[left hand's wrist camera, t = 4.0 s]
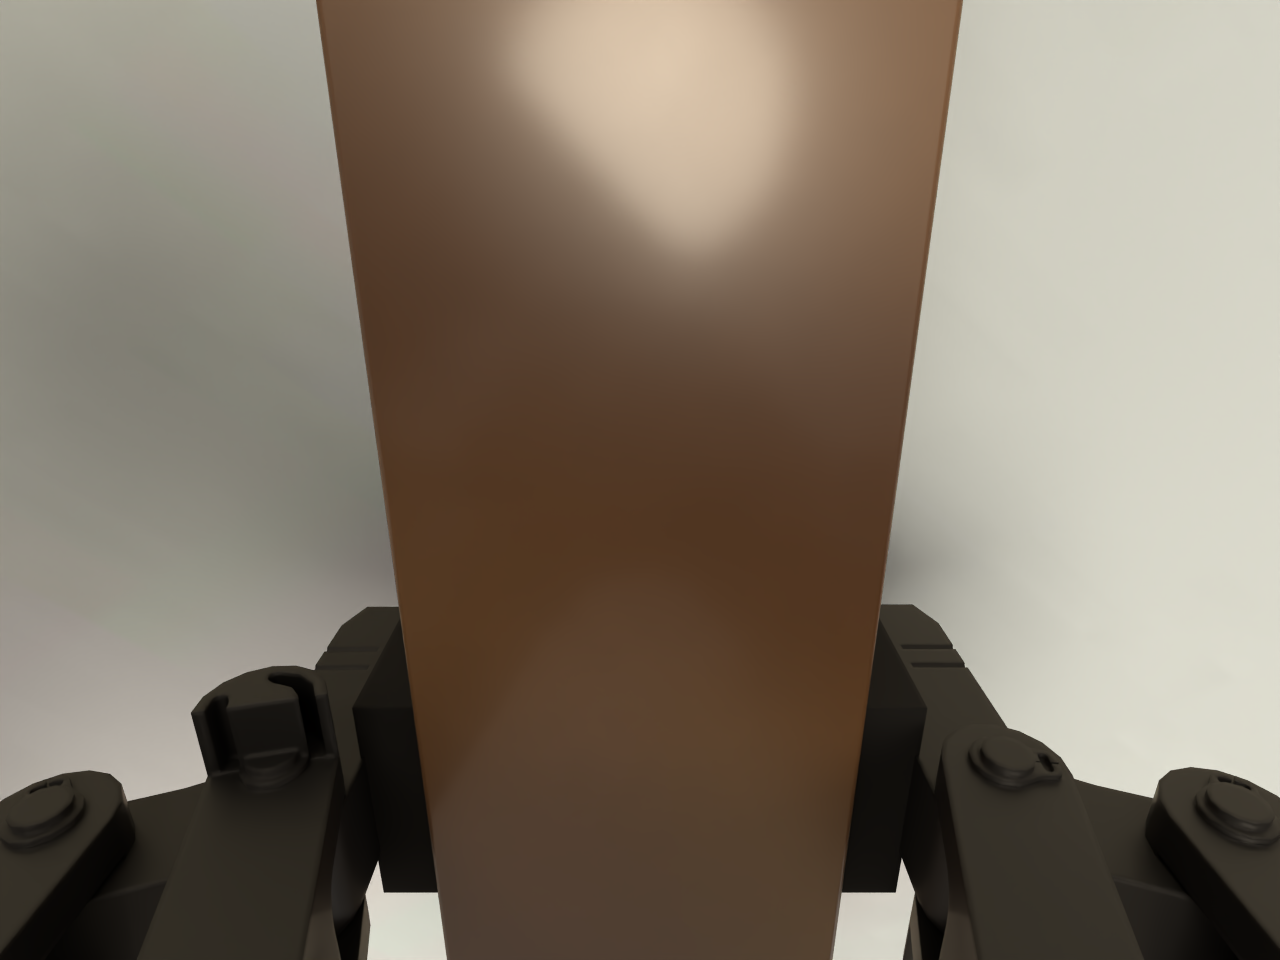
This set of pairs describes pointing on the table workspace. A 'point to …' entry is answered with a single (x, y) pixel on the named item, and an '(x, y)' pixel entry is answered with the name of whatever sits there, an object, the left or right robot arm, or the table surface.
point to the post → (639, 439)
